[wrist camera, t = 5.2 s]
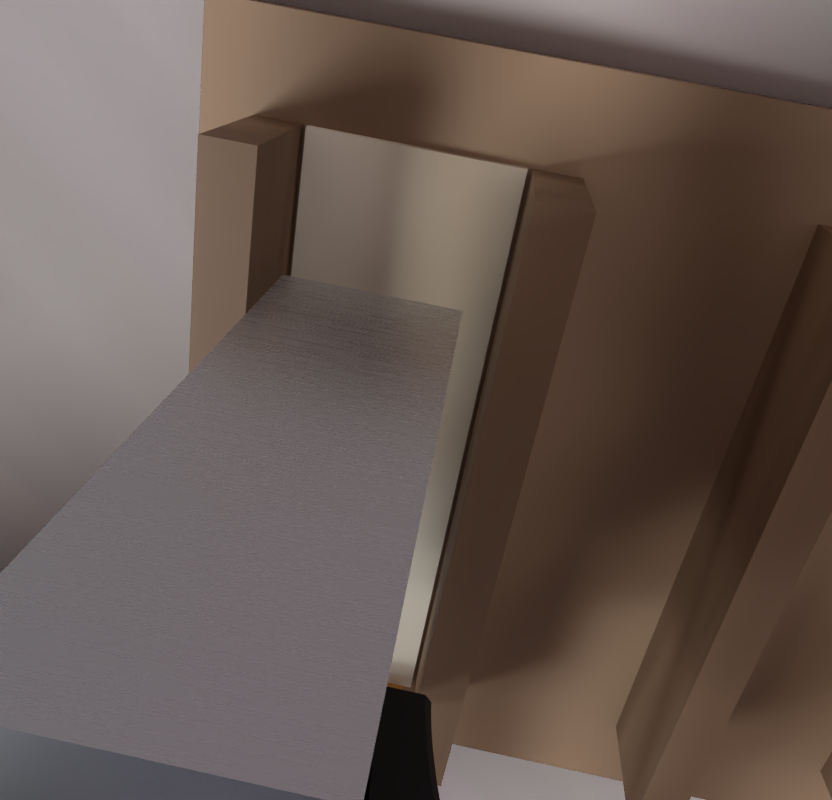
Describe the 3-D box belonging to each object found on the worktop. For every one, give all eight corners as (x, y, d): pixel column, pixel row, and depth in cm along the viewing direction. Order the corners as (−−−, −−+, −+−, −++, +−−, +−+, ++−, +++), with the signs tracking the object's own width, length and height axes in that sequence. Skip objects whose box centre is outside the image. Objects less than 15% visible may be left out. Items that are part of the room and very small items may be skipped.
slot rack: (190, 658, 24) (130, 771, 20) (222, -6, 16) (133, -15, 12) (853, 803, 23) (914, 948, 19) (1246, 187, 15) (1476, 239, 11)
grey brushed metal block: (242, 705, 17) (-1, 1301, 9) (283, 274, 13) (-119, 700, 5) (375, 735, 17) (246, 1363, 9) (462, 310, 13) (362, 809, 5)
